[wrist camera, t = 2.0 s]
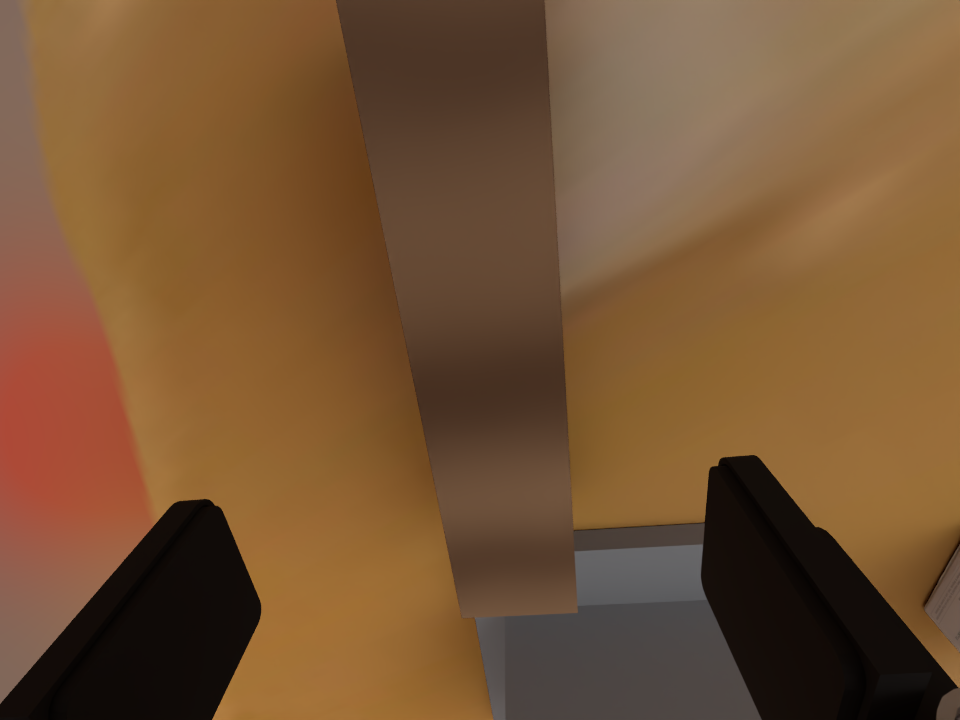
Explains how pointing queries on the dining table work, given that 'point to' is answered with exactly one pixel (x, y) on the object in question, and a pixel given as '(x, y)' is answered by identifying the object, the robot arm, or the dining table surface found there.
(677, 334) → the dining table surface
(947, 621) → the syrup box
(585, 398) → the dining table surface
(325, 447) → the dining table surface
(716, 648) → the stand
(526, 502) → the walnut bar
